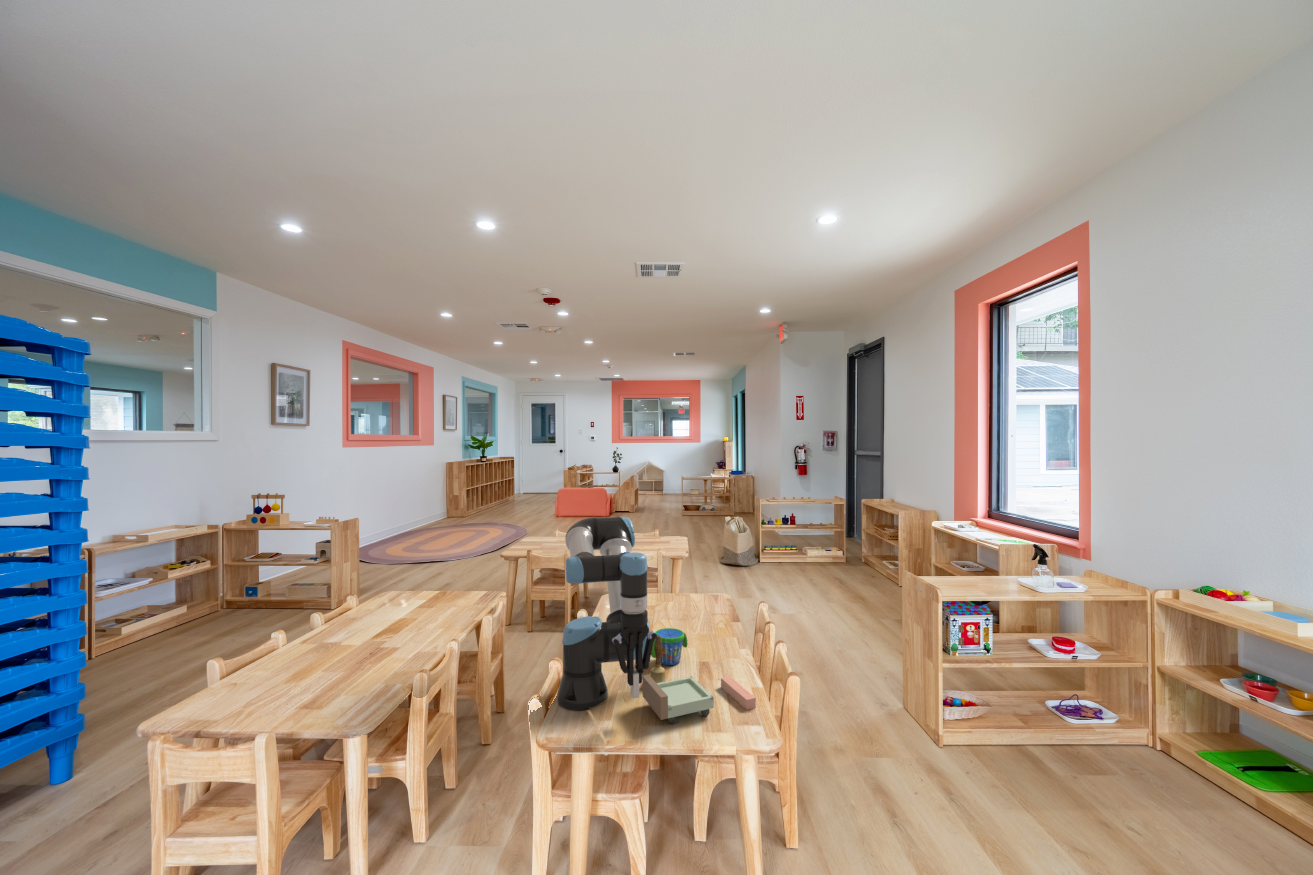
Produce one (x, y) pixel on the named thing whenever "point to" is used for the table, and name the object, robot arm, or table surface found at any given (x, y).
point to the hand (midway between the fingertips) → (634, 695)
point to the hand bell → (658, 663)
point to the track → (738, 693)
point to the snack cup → (670, 645)
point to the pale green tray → (676, 697)
